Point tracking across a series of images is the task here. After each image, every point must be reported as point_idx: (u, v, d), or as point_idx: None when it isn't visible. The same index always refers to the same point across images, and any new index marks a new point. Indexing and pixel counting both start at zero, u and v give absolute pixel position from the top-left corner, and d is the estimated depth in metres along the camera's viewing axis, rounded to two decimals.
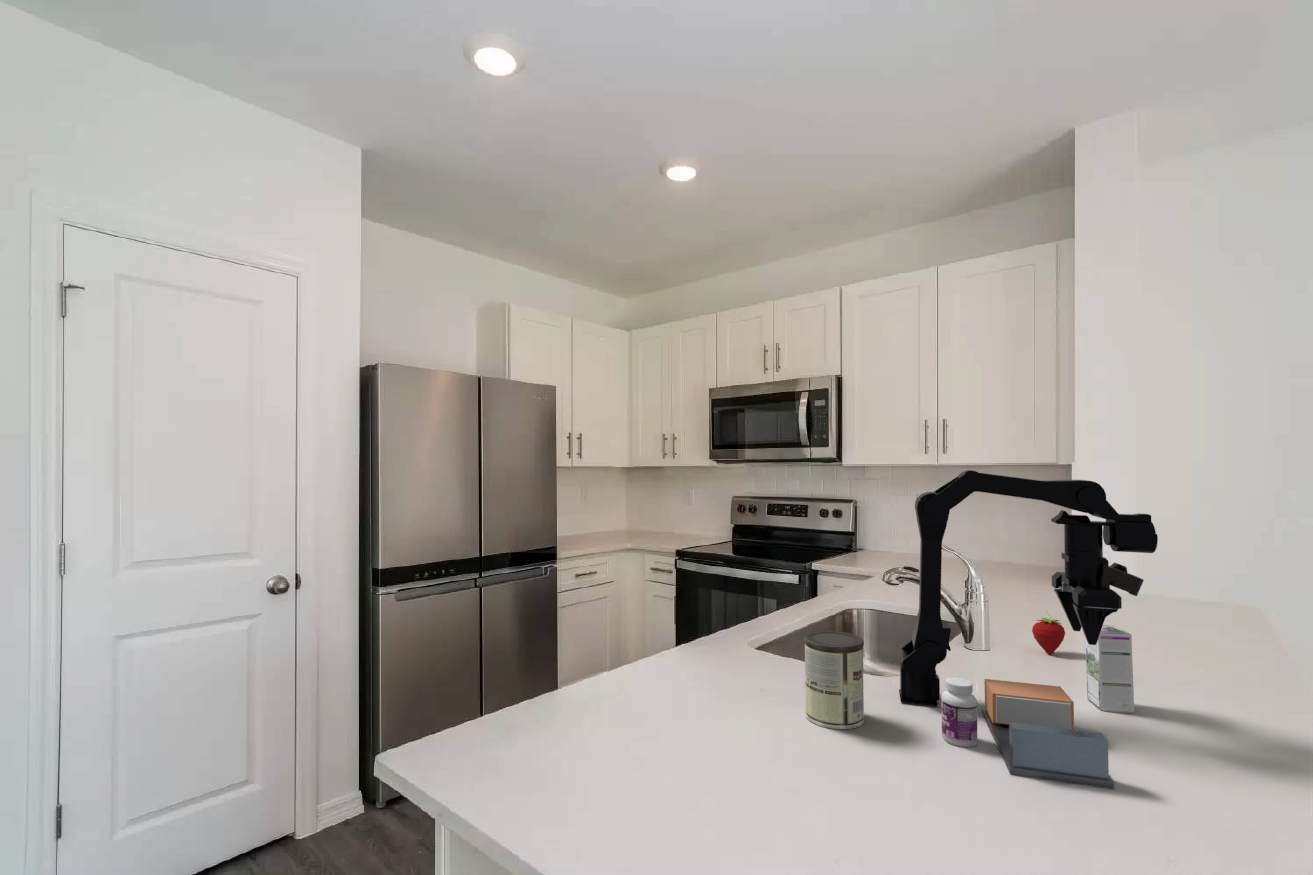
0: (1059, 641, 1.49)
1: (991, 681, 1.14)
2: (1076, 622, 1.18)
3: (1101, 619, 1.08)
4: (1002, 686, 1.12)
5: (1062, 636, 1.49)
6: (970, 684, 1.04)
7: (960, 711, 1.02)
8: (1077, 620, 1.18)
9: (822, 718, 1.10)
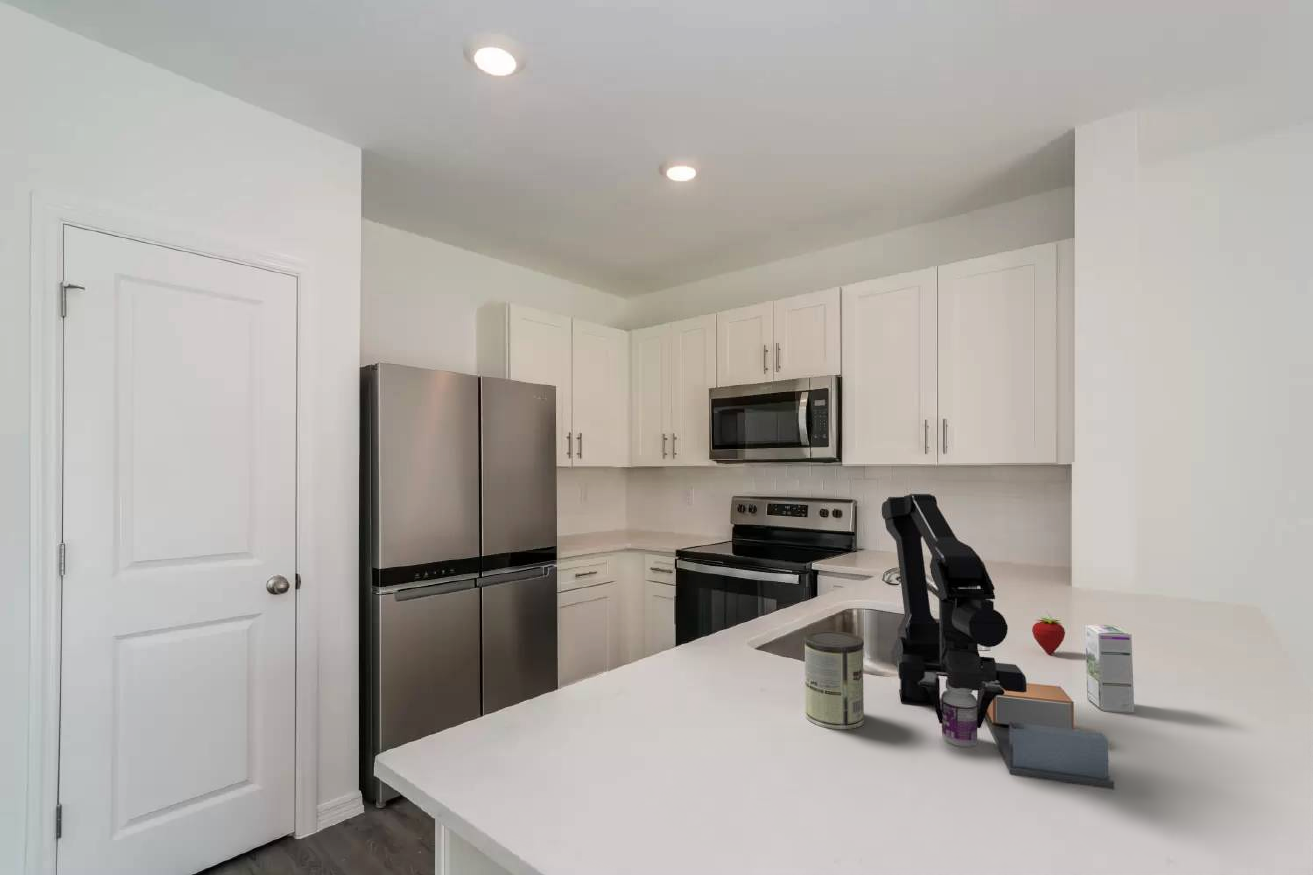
0: (1059, 641, 1.49)
1: None
2: (977, 716, 1.04)
3: None
4: None
5: (1062, 636, 1.49)
6: None
7: (960, 711, 1.02)
8: (977, 715, 1.04)
9: (822, 718, 1.10)
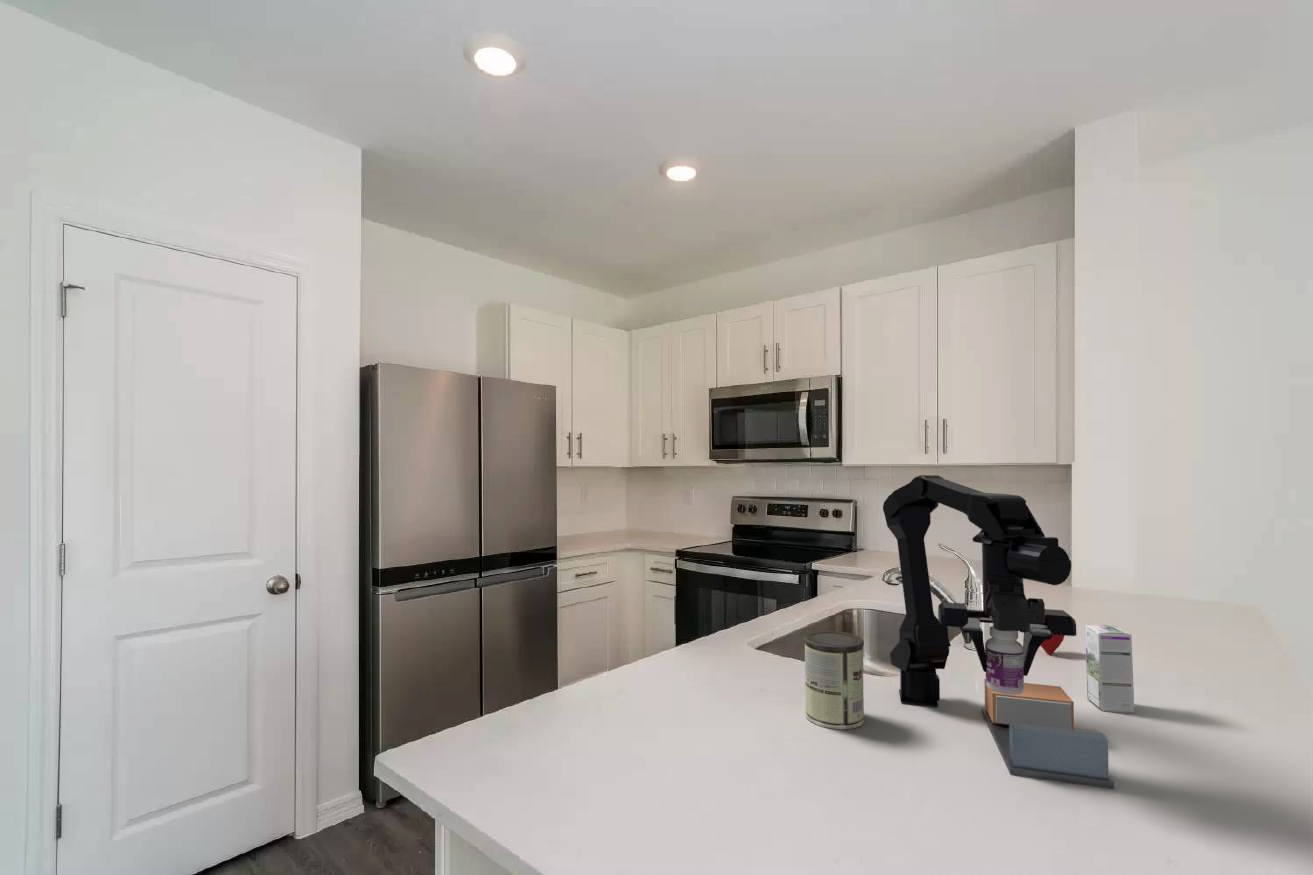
0: (1059, 641, 1.49)
1: None
2: None
3: None
4: None
5: (1062, 636, 1.49)
6: None
7: (1005, 657, 0.99)
8: None
9: (822, 718, 1.10)
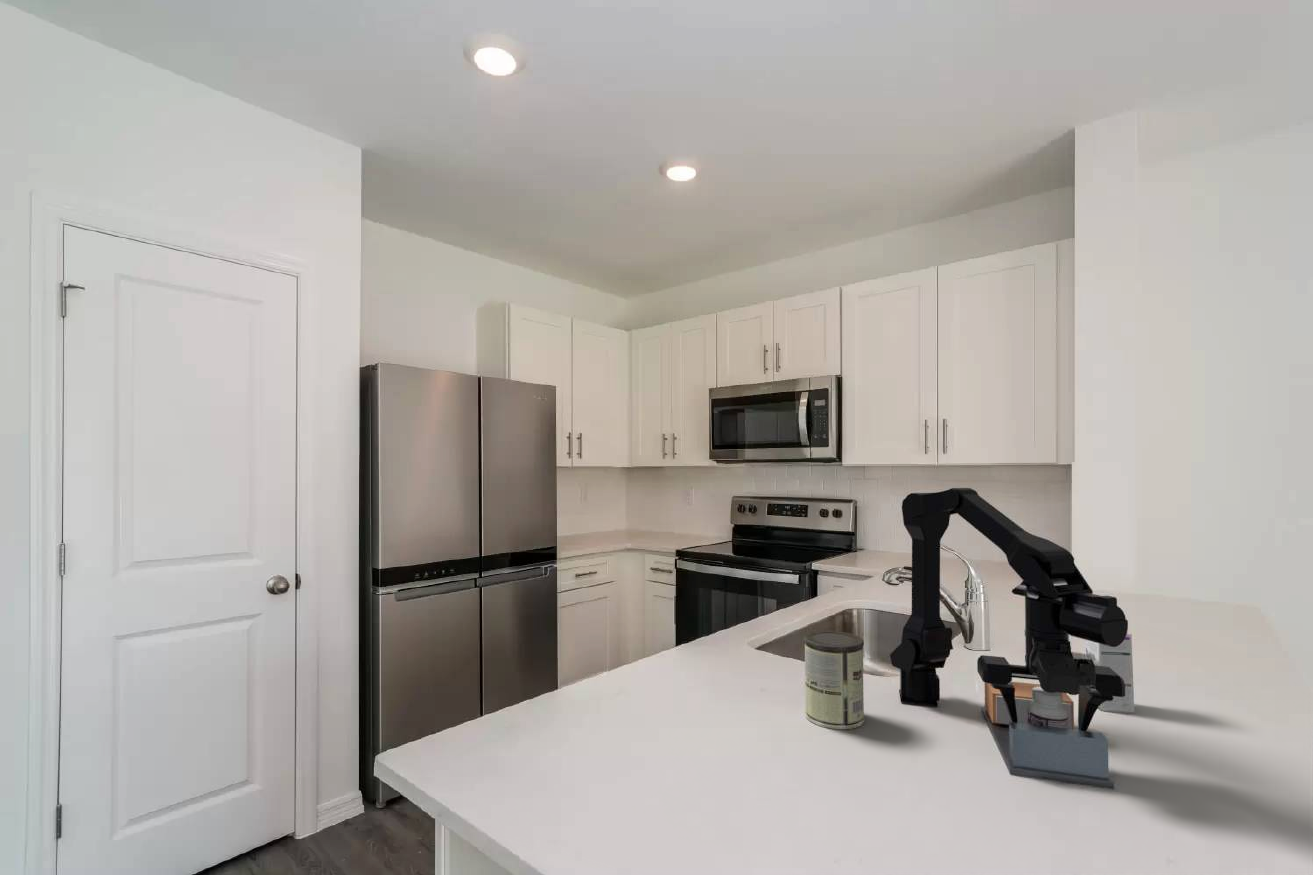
0: None
1: None
2: (1079, 724, 0.97)
3: None
4: None
5: None
6: (1060, 694, 0.97)
7: (1050, 723, 0.95)
8: (1080, 722, 0.96)
9: (822, 718, 1.10)
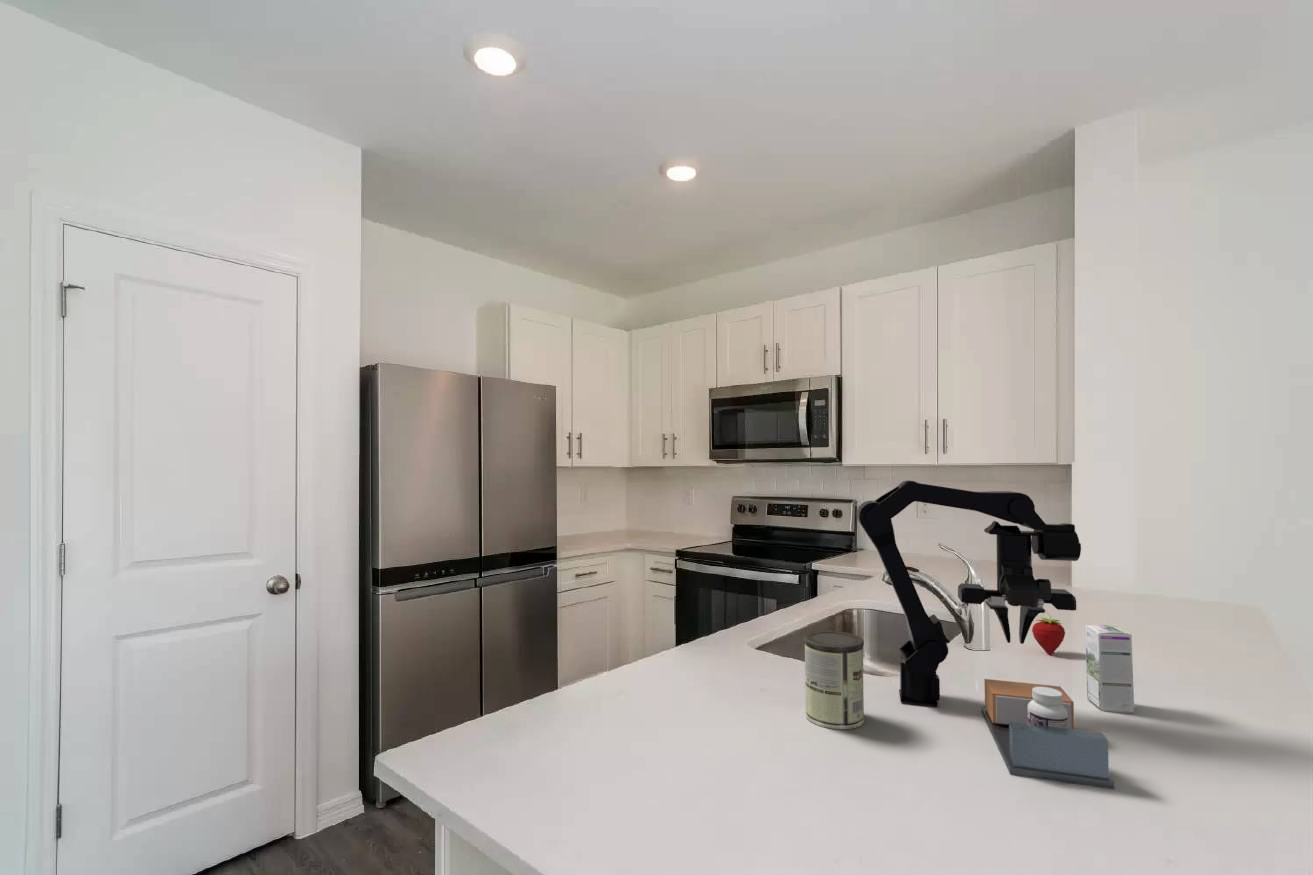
0: (1059, 641, 1.49)
1: (991, 681, 1.14)
2: (1020, 634, 1.19)
3: None
4: (1002, 686, 1.12)
5: (1062, 636, 1.49)
6: (1060, 694, 0.97)
7: (1050, 723, 0.95)
8: (1020, 632, 1.18)
9: (822, 718, 1.10)
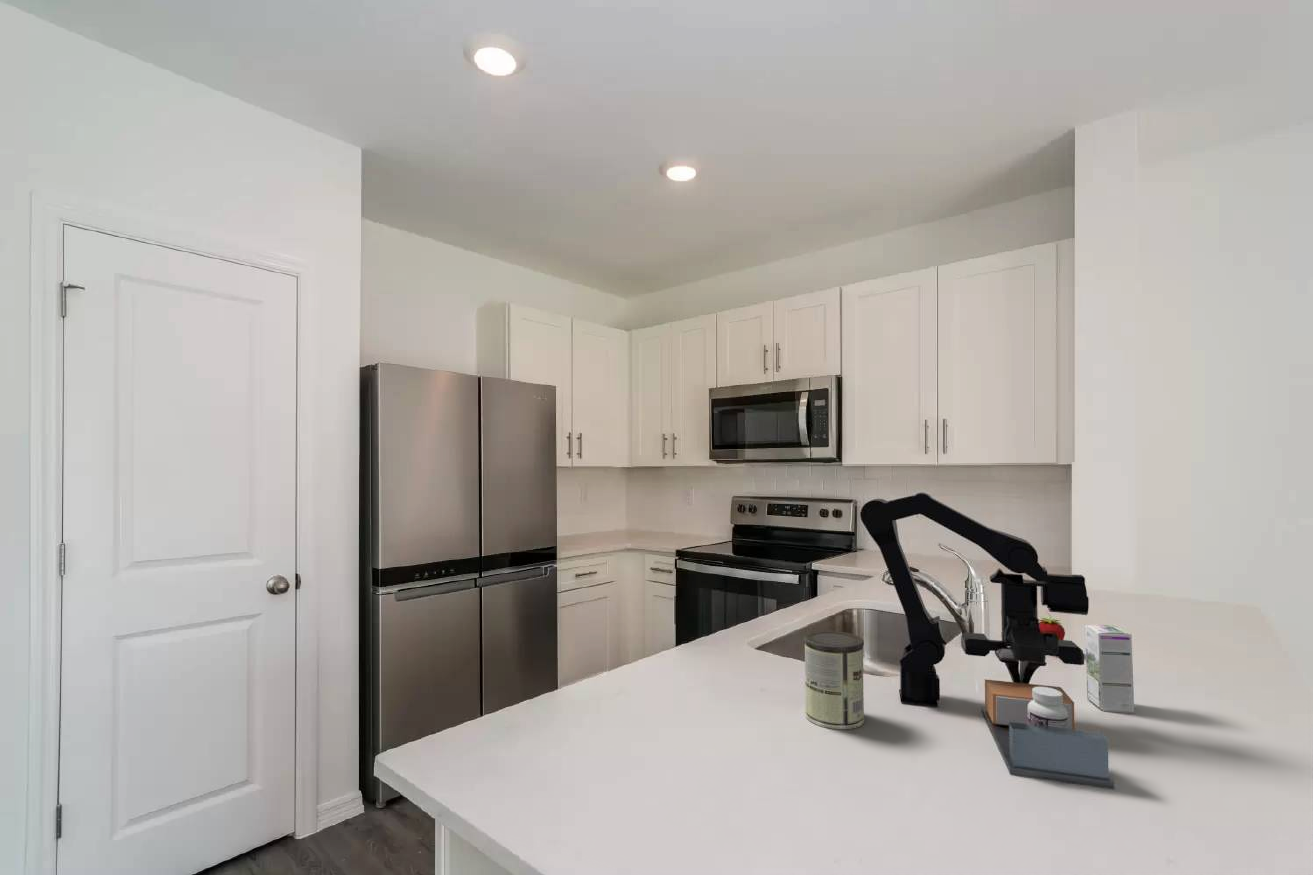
0: None
1: (991, 682, 1.14)
2: None
3: None
4: (1002, 686, 1.12)
5: (1062, 636, 1.49)
6: (1060, 694, 0.97)
7: (1050, 723, 0.95)
8: None
9: (822, 718, 1.10)
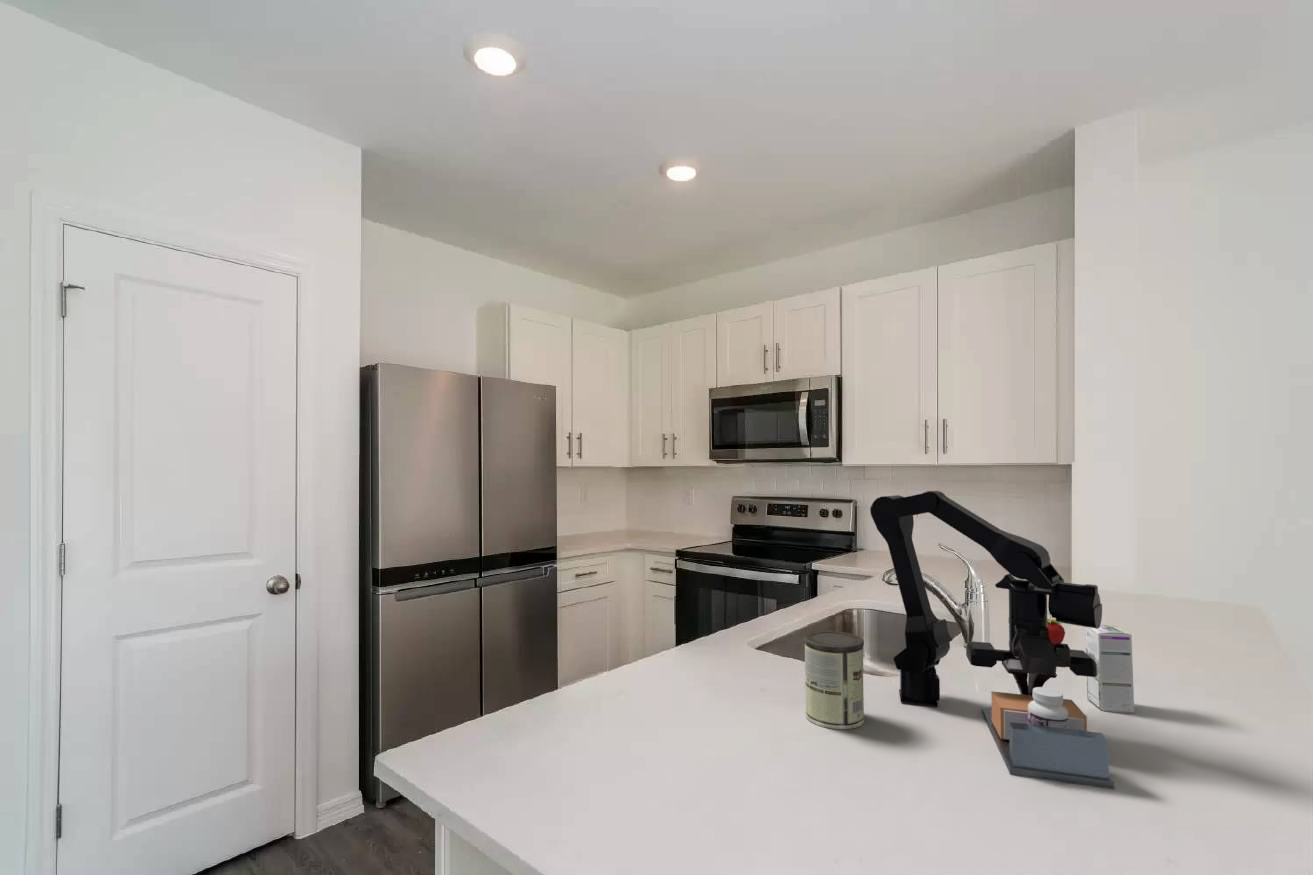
0: (1059, 641, 1.49)
1: (998, 694, 1.08)
2: None
3: None
4: (1010, 699, 1.06)
5: (1062, 636, 1.49)
6: (1061, 694, 0.96)
7: (1051, 723, 0.95)
8: None
9: (822, 718, 1.10)
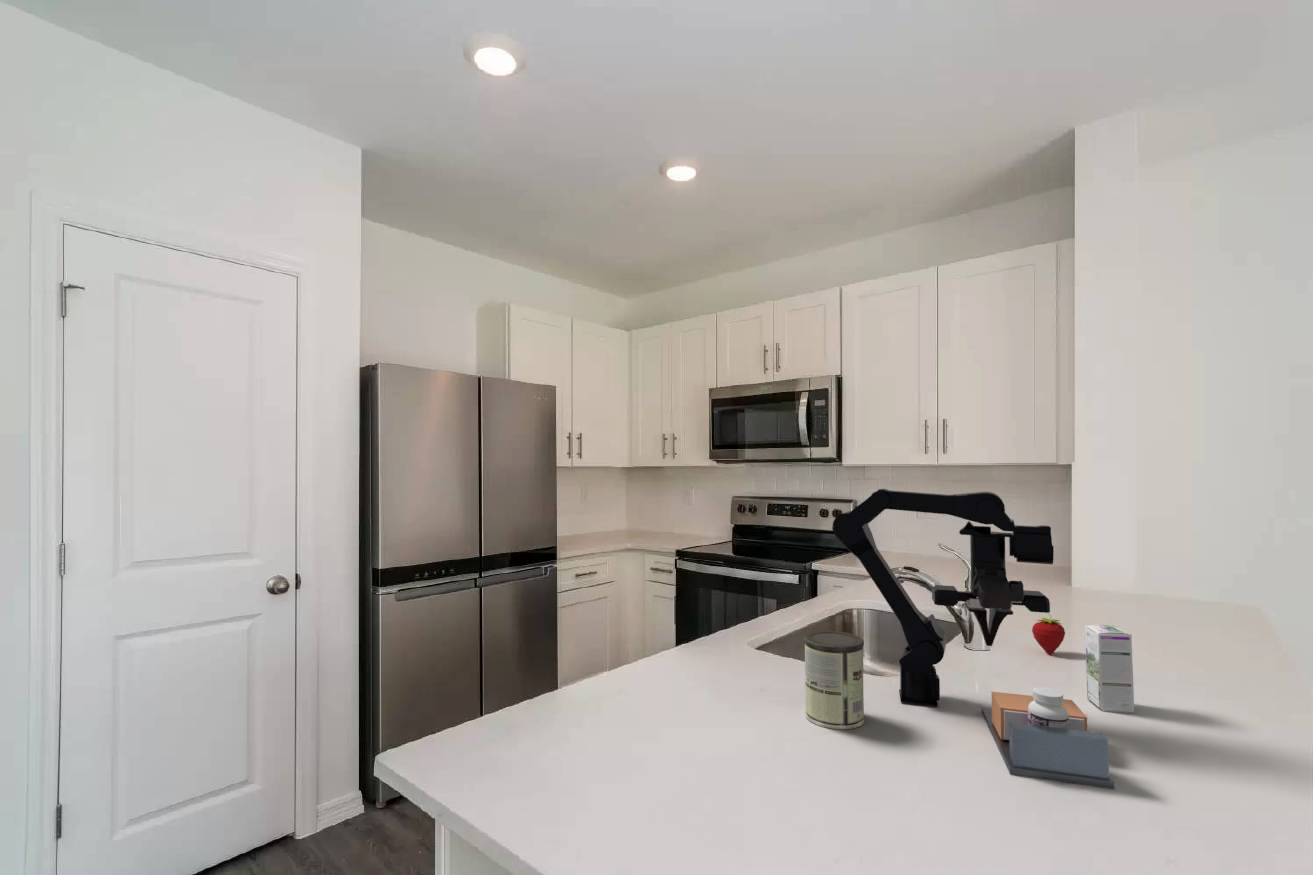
0: (1059, 641, 1.49)
1: (998, 694, 1.08)
2: None
3: None
4: (1010, 699, 1.06)
5: (1062, 636, 1.49)
6: (1061, 695, 0.96)
7: (1051, 723, 0.95)
8: (989, 634, 1.17)
9: (822, 718, 1.10)
